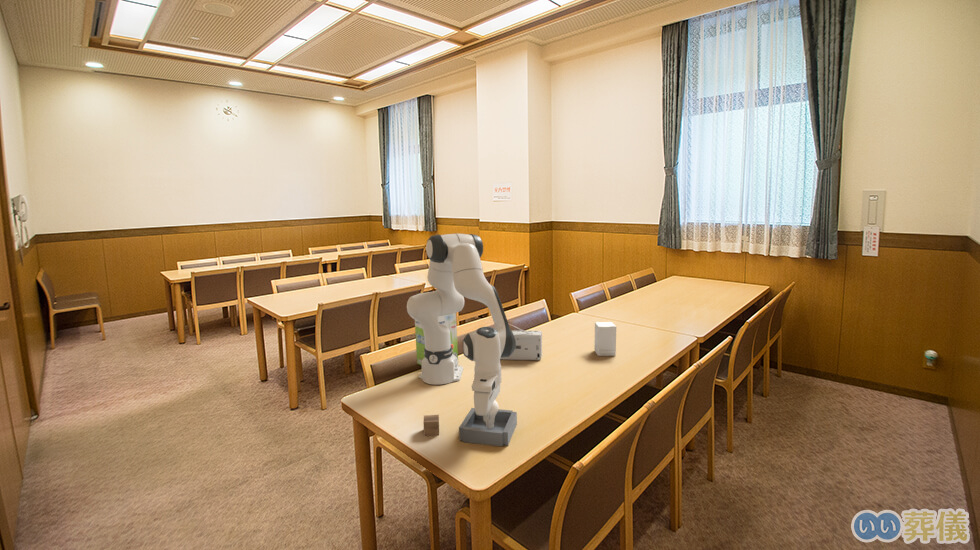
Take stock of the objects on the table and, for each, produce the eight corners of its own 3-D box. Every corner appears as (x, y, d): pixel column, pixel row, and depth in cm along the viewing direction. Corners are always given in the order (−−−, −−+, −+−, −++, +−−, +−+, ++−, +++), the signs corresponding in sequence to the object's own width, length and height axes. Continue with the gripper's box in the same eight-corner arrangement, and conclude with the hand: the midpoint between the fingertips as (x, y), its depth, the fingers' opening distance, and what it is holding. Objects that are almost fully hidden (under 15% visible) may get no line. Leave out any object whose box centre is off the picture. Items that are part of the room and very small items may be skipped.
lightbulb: (502, 428, 158) (502, 398, 155) (490, 436, 153) (489, 405, 151) (489, 422, 162) (488, 393, 159) (477, 429, 157) (476, 399, 155)
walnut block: (424, 429, 160) (423, 415, 159) (439, 428, 160) (438, 414, 160) (424, 436, 155) (423, 422, 154) (439, 435, 155) (438, 421, 155)
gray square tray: (472, 418, 167) (472, 406, 166) (517, 423, 163) (517, 411, 162) (458, 441, 151) (458, 428, 150) (507, 447, 147) (507, 433, 146)
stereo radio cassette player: (541, 355, 231) (541, 316, 228) (542, 361, 223) (542, 320, 220) (499, 355, 233) (499, 316, 230) (498, 360, 225) (497, 320, 222)
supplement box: (616, 356, 228) (616, 326, 226) (597, 356, 228) (598, 326, 226) (611, 350, 237) (612, 321, 235) (594, 350, 237) (594, 321, 235)
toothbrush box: (428, 369, 215) (425, 318, 211) (416, 364, 222) (413, 314, 219) (458, 360, 226) (456, 312, 222) (446, 355, 234) (444, 308, 230)
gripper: (486, 365, 164) (487, 402, 167) (470, 388, 145) (471, 429, 147) (504, 366, 163) (504, 403, 165) (489, 389, 143) (490, 431, 146)
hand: (488, 416), depth 156 cm, fingers closed on lightbulb, 5 cm apart
